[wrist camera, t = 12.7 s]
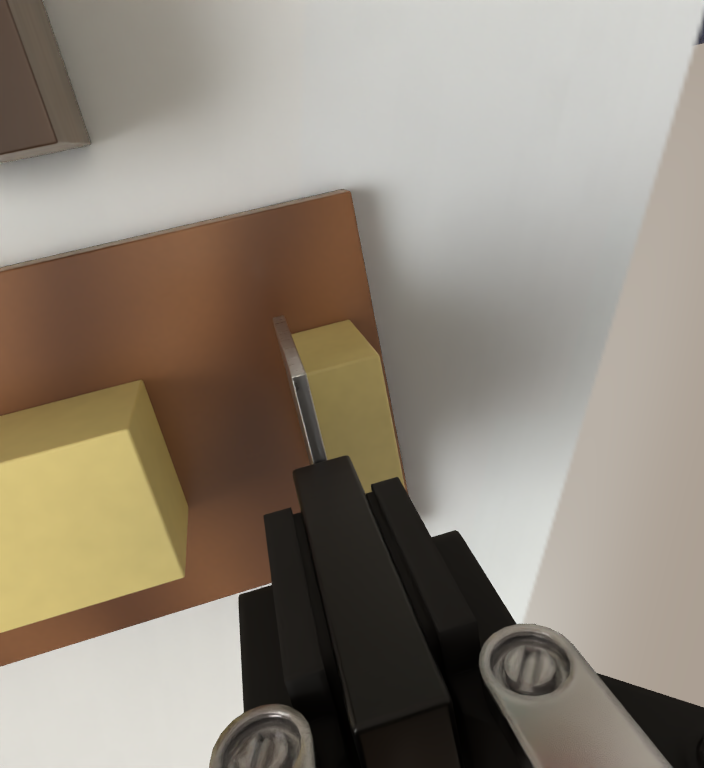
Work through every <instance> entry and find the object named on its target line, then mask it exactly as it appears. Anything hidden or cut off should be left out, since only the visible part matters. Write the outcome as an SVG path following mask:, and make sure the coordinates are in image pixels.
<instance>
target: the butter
mask: <svg viewBox="0 0 704 768" xmlns="http://www.w3.org/2000/svg"><path fill="white" fill-rule="evenodd" d="M187 525H188V504H187V502H186V499H185V496H184V493H183V490H182V488H181V485H180V482H179V479H178V477H177V474H176V471H175V468H174V465H173V463H172V460H171V457H170V454H169V452H168V449H167V446H166V443H165V440H164V438H163V435H162V432H161V429H160V427H159V424H158V421H157V418H156V415H155V413H154V410H153V407H152V404H151V402H150V399H149V396H148V393H147V390H146V388H145V385H144V382H143V381H142V380H137V381H133V382H130V383H126V384H122V385H118V386H114V387H110V388H106V389H103V390H99V391H95V392H91V393H87V394H83V395H79V396H76V397H72V398H68V399H64V400H60V401H56V402H52V403H49V404H45V405H41V406H37V407H33V408H29V409H25V410H22V411H18V412H14V413H10V414H6V415H2V416H0V633H2V632H5V631H9V630H12V629H15V628H19V627H22V626H25V625H29V624H32V623H35V622H38V621H42V620H45V619H48V618H52V617H55V616H58V615H62V614H65V613H68V612H72V611H75V610H78V609H81V608H85V607H88V606H91V605H95V604H98V603H101V602H105V601H108V600H111V599H115V598H118V597H121V596H124V595H128V594H131V593H134V592H138V591H141V590H144V589H148V588H151V587H154V586H158V585H161V584H164V583H167V582H171V581H174V580H177V579H181V578H183V577H185V565H186V545H187Z"/></svg>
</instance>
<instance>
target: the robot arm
mask: <svg viewBox="0 0 704 768" xmlns="http://www.w3.org/2000/svg"><path fill="white" fill-rule="evenodd" d="M371 490H372V492H369V493H366V496H367V498H368V501H369V503H370V506H371V508H372V510H373V513H374V515H375V517H376V520H377V522H378V524H379V527H380V529H381V532H382V534H383V536H384V539H385V541H386V543H387V546H388V548H389V550H390V553H391V555H392V558H393V560H394V562H395V565H396V567H397V569H398V572H399V574H400V577H401V579H402V581H403V584H404V586H405V588H406V591H407V593H408V595H409V598H410V600H411V603H412V605H413V607H414V610H415V612H416V614H417V617H418V619H419V621H420V624H421V626H422V629H423V631H424V633H425V636H426V638H427V640H428V643H429V645H430V647H431V650H432V652H433V655H434V657H435V659H436V662H437V664H438V666H439V669H440V671H441V674H442V676H443V678H444V681H445V683H446V685H447V688H448V690H449V692H450V695H451V697H452V702H453V708H454V713H455V719H456V724H457V729H458V735H459V740H460V746H461V751H462V757H463V762H464V768H704V708H703V707H700V706H697V705H694V704H691V703H688V702H685V701H682V700H678V699H676V698H672V697H669V696H666V695H663V694H660V693H657V692H654V691H651V690H647V689H645V688H641V687H638V686H635V685H632V684H629V683H626V682H623V681H620V680H617V679H613V678H610V677H607V676H604V675H601V674H598V673H596V672H595V671H594V670H593V668H592V667H591V666H590V665H589V663H588V662H587V661H586V660H585V659H584V657H583V656H582V655H581V654H580V653H579V651H578V650H577V649H576V648H575V646H574V645H573V644H572V643H571V642H570V641H569V640H568V639H567V638H565V637H564V636H563V635H562V634H560V633H558V632H556V631H554V630H552V629H551V628H548V627H544V626H540V625H536V624H516V623H515V621H514V619H513V618H512V616H511V614H510V613H509V611H508V610H507V608H506V606H505V605H504V603H503V602H502V600H501V598H500V597H499V595H498V594H497V592H496V590H495V589H494V587H493V586H492V584H491V582H490V581H489V579H488V578H487V576H486V574H485V573H484V571H483V570H482V568H481V566H480V565H479V563H478V562H477V560H476V558H475V557H474V555H473V554H472V552H471V550H470V549H469V547H468V546H467V544H466V542H465V541H464V539H463V537H462V536H461V535H460V533H459V532H458V531H456V530H455V531H451V532H448V533H444V534H441V535H438V536H434V537H431V536H430V534H429V532H428V530H427V529H426V527H425V525H424V523H423V521H422V519H421V518H420V516H419V514H418V512H417V510H416V508H415V507H414V505H413V503H412V501H411V499H410V497H409V495H408V494H407V492H406V490H405V488H404V486H403V484H402V483H401V481H400V479H399V478H398V477H395V478H391V479H388V480H384V481H381V482H377V483H374V484H371ZM263 517H264V525H265V533H266V541H267V549H268V557H269V565H270V572H271V580H272V585H271V586H267V587H264V588H261V589H257V590H254V591H250V592H247V593H244V594H240V595H239V623H240V643H241V663H242V683H243V703H244V713H243V714H242V715H240V716H239V717H237V718H236V719H235V720H233V721H232V722H231V723H230V724H229V725H228V727H227V728H226V729H225V730H224V731H223V732H222V733H221V735H220V737H219V738H218V740H217V742H216V744H215V746H214V748H213V751H212V755H211V760H210V764H209V768H361V764H360V761H359V757H358V754H357V750H356V747H355V743H354V740H353V736H352V733H351V729H350V724H349V720H348V716H347V711H346V707H345V703H344V698H343V694H342V689H341V685H340V681H339V676H338V672H337V668H336V663H335V659H334V654H333V650H332V646H331V641H330V637H329V633H328V628H327V624H326V619H325V615H324V611H323V606H322V602H321V598H320V593H319V589H318V584H317V580H316V576H315V571H314V567H313V563H312V558H311V554H310V549H309V545H308V541H307V536H306V532H305V528H304V523H303V519H302V514H301V512H300V513H296V514H293V512H292V509H291V507H290V508H286V509H283V510H279V511H276V512H272V513H269V514H265V515H264V516H263Z"/></svg>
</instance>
